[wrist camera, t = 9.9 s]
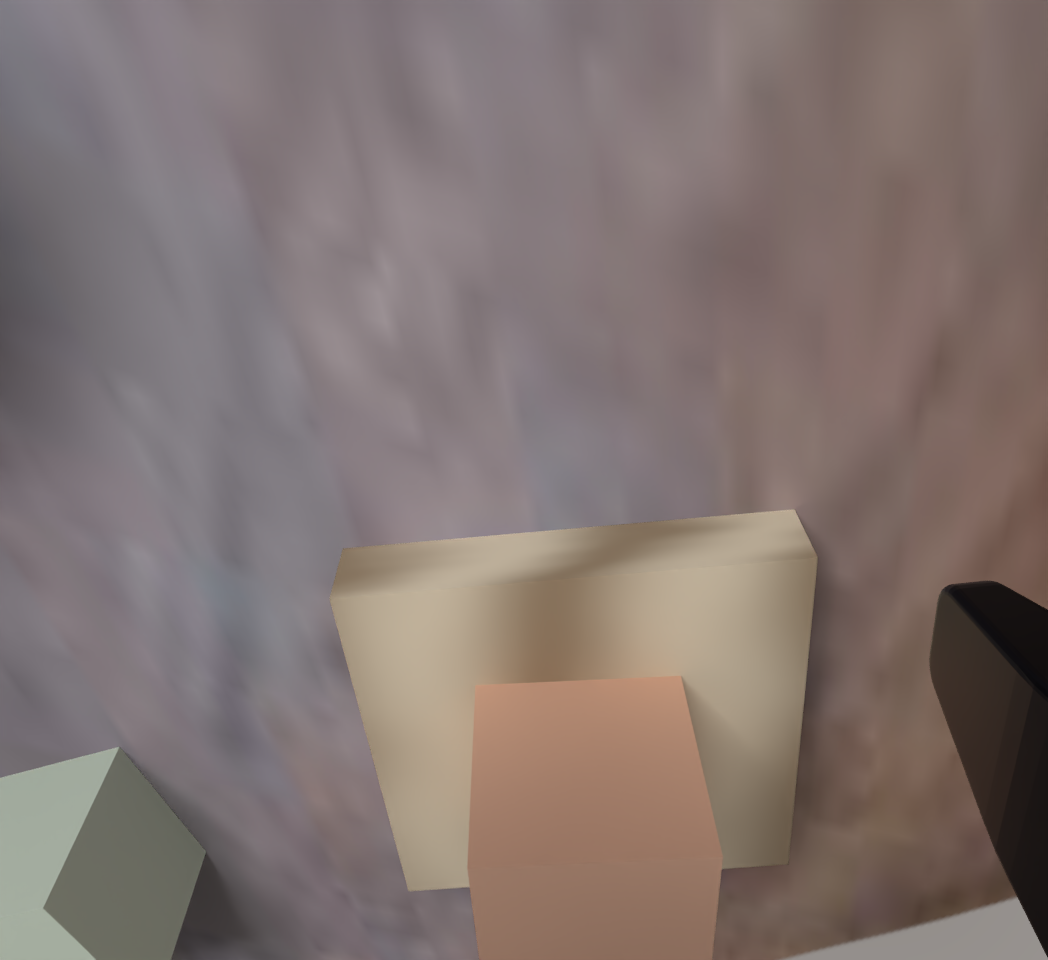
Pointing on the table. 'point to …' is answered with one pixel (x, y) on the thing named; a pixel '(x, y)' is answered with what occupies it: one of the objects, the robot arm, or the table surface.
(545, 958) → the terracotta cube
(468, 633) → the plinth
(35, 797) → the sage cube
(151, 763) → the table surface
